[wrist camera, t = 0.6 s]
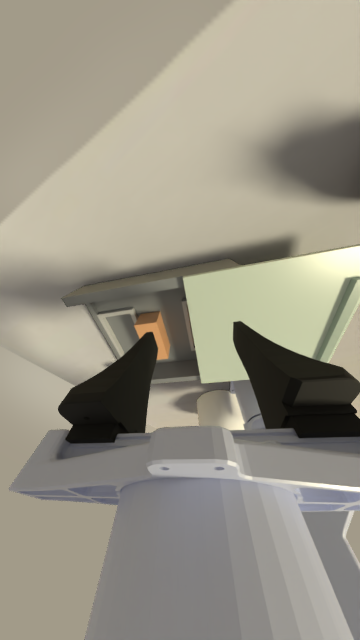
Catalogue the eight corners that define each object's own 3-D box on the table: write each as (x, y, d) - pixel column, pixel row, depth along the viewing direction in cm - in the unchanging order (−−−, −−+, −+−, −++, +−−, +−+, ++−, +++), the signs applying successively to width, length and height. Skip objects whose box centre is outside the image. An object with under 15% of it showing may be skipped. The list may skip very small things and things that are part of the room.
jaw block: (170, 345, 25) (168, 358, 23) (153, 347, 26) (149, 360, 23) (160, 311, 22) (156, 322, 19) (140, 314, 22) (133, 325, 19)
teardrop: (187, 402, 37) (188, 467, 27) (219, 383, 32) (234, 453, 22) (216, 417, 41) (227, 479, 30) (249, 401, 36) (274, 468, 26)
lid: (319, 370, 22) (326, 376, 21) (201, 380, 24) (201, 386, 23) (384, 239, 13) (401, 240, 12) (182, 276, 15) (182, 279, 14)
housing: (229, 356, 28) (236, 376, 24) (128, 366, 30) (120, 386, 26) (228, 258, 18) (240, 265, 14) (84, 285, 21) (61, 298, 17)
